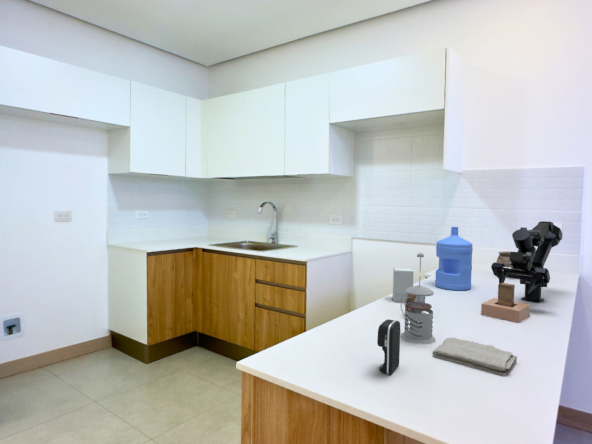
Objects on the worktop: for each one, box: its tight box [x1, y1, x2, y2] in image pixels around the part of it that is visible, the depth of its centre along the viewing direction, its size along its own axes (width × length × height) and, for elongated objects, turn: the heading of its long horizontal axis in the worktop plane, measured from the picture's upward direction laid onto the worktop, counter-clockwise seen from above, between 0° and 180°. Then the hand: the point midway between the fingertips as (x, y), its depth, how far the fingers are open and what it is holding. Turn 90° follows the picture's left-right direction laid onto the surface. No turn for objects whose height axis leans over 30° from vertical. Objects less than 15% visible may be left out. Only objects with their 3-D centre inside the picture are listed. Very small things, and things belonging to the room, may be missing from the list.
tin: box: [405, 294, 426, 314], centre depth 137 cm, size 15×3×8 cm, turn 145°
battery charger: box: [376, 319, 401, 375], centre depth 91 cm, size 7×4×11 cm, turn 149°
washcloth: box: [432, 337, 518, 377], centre depth 98 cm, size 12×18×3 cm, turn 51°
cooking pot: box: [496, 251, 520, 279], centre depth 206 cm, size 25×19×12 cm
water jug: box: [434, 226, 474, 291], centre depth 178 cm, size 16×16×28 cm
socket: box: [480, 297, 531, 324], centre depth 136 cm, size 12×12×4 cm
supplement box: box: [392, 267, 414, 304], centre depth 154 cm, size 7×7×13 cm
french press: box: [400, 252, 436, 345], centre depth 113 cm, size 10×12×25 cm
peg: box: [497, 282, 516, 307], centre depth 135 cm, size 4×4×11 cm
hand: (513, 290), depth 141 cm, fingers open, 9 cm apart
